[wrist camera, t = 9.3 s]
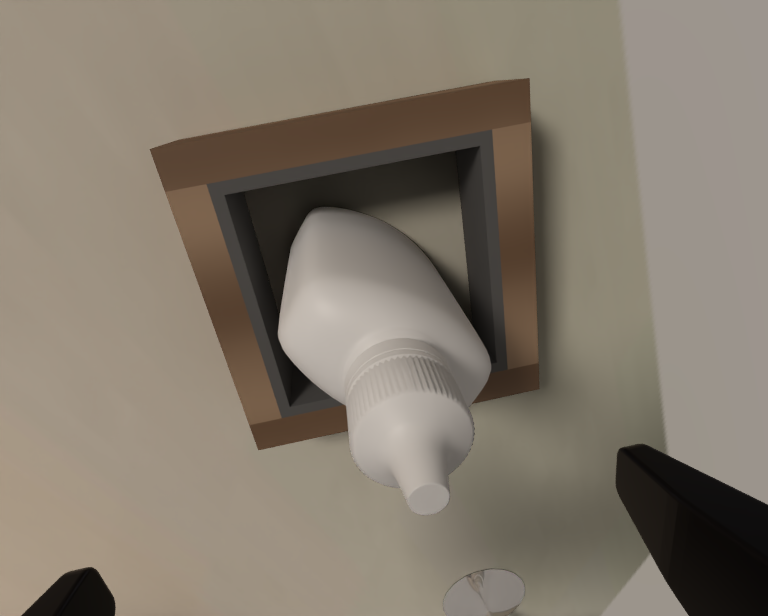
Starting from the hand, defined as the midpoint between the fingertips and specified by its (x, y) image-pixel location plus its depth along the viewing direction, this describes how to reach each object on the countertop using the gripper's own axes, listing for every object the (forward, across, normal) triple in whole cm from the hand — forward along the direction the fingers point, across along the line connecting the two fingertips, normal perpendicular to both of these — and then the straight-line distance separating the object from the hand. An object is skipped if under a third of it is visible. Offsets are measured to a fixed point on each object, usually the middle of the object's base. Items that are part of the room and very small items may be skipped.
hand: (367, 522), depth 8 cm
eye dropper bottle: (+12, -1, -1) cm, 12 cm away
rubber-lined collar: (+12, -1, -1) cm, 12 cm away
